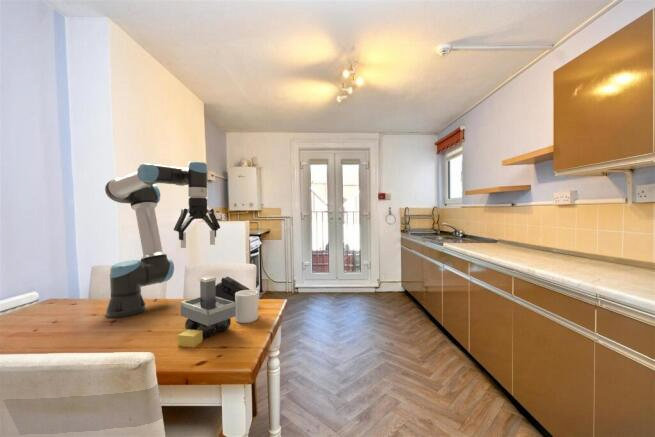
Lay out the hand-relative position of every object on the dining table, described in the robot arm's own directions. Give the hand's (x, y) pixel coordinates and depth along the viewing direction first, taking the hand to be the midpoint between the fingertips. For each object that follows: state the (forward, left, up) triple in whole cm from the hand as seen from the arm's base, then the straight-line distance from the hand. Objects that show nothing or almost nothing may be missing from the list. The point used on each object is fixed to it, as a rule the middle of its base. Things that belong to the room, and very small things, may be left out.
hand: (198, 246), depth 126 cm
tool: (-1, +18, -32) cm, 37 cm away
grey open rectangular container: (+16, -6, -32) cm, 36 cm away
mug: (+18, +12, -32) cm, 39 cm away
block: (+20, -16, -32) cm, 41 cm away
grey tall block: (+16, -6, -22) cm, 28 cm away
